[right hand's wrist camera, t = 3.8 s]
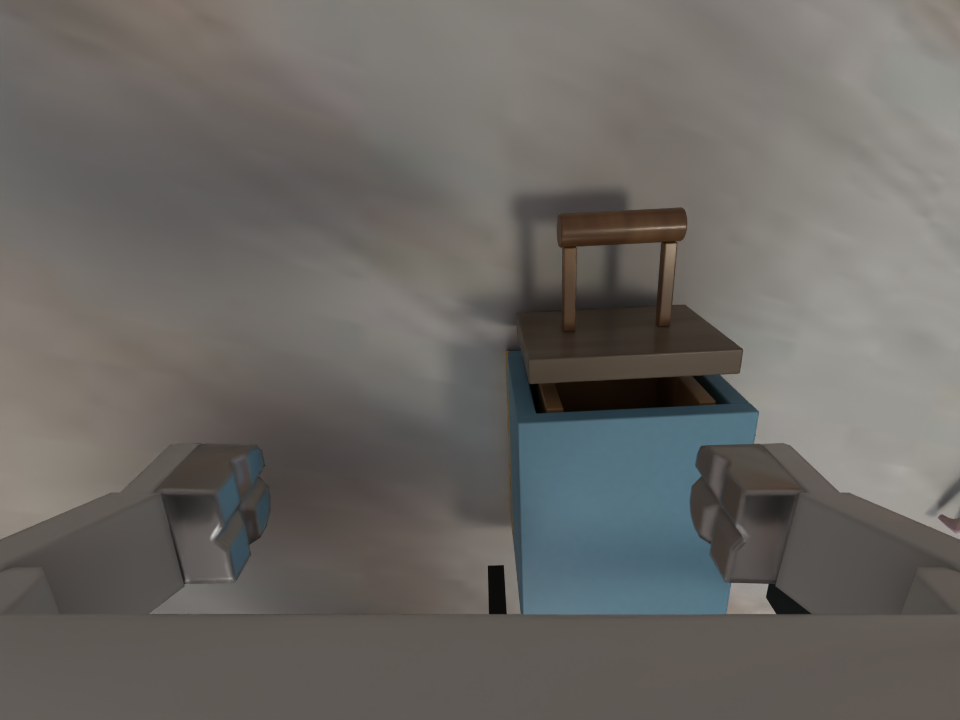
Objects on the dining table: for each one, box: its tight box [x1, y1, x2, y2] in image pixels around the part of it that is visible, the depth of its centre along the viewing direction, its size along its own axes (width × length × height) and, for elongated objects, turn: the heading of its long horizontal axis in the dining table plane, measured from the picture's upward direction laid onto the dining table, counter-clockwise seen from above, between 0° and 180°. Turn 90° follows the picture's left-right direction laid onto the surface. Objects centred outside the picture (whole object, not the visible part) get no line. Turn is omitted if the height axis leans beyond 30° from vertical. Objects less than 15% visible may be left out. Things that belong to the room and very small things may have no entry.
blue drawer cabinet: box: [506, 350, 759, 614], centre depth 30 cm, size 13×11×9 cm
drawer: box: [517, 208, 743, 414], centre depth 28 cm, size 17×9×7 cm, turn 3°
